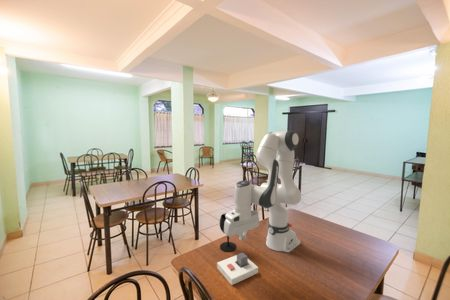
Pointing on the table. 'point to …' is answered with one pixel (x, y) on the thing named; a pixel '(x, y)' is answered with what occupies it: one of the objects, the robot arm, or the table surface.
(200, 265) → the table surface
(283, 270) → the table surface
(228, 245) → the wine glass
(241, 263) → the plug
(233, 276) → the socket plate
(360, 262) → the table surface
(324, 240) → the table surface
